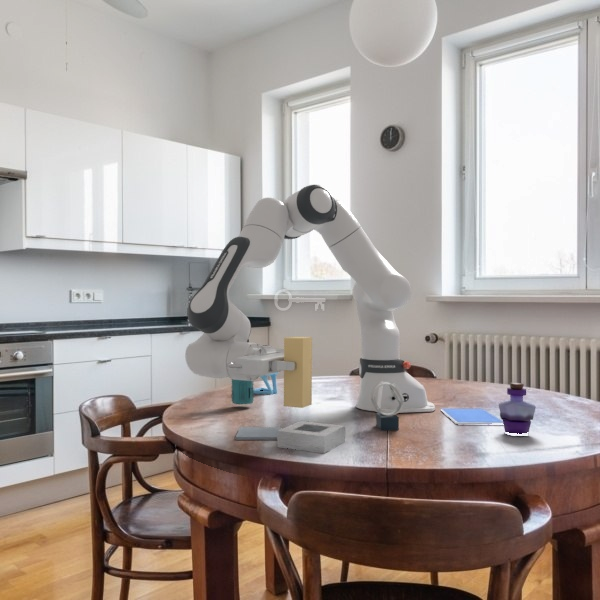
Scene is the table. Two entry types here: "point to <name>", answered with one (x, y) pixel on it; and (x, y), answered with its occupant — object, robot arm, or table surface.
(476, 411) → the tablet computer
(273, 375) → the chair
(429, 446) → the table surface
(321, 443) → the socket block
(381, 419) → the glass trophy
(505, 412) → the potion bottle
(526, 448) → the table surface
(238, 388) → the beverage bottle
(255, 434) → the slate mat
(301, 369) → the ochre peg
